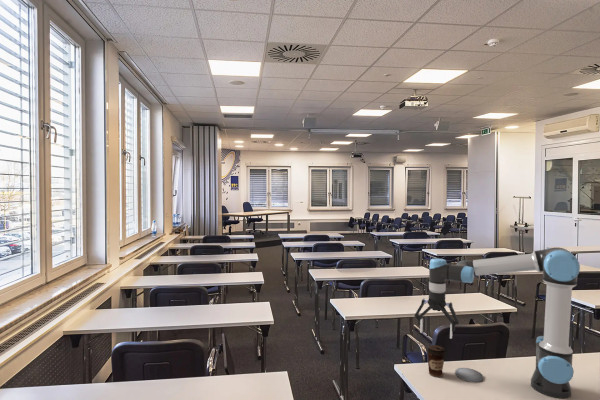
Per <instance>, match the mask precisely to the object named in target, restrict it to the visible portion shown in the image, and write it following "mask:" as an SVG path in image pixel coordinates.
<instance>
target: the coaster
mask: <svg viewBox="0 0 600 400" xmlns="http://www.w3.org/2000/svg"><path fill="white" fill-rule="evenodd" d="M454 372H455V373H454V374H455V376H456V377H457V378H459V379H460V380H462V381H466V382H470V383H480V382H482V381H483V380H484V376H483V374H482V373H481V372H480V371H478V370H476V369H472V368H469V367H458V368H457V369H455V371H454Z"/></svg>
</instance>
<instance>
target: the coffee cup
mask: <svg viewBox="0 0 600 400" xmlns="http://www.w3.org/2000/svg"><path fill="white" fill-rule="evenodd" d="M426 351H427V363H428V364H427V366H428V374H429V375H430V376H432V377H434V378H440V377H442V376H443V375H444V374H443V372H444V371H443V369H444V364H445V363H444V362H445V354H446V350H445V349H444V347H443V346H440V345H437V344H436V345H435V344H433V345H429V346H428V348H427V349H426Z"/></svg>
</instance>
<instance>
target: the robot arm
mask: <svg viewBox="0 0 600 400" xmlns="http://www.w3.org/2000/svg"><path fill="white" fill-rule="evenodd" d="M428 269H429V271H428V273H429V276H428V277H429V279H428V280H429V281H428V289H429V291H428V299H425V298H422V299H421V303H420V305H419V307H418V308H417V310H416V312H415V313H414V317H415V318H417V325H418V326H419V333H421V334H422V333H423V331H424V318H423V317H424V316H425V315H426V314H428V312H429V311H431V310H432V311H437V312H442V313H443V314H444V316H445V317H446V318H447V320H448V321H449V322H450V325H449V328H450V329H449V339H453V332H455V331H456V325H459V324H460V320H459V318H458V316H457V313H456V311H455V308H454V306H453V302H451V301H450V302H446V286H447V285H446V284H447V282H446V281H450V282H459V283H468V284H473V282H474V279H475V276H486V275H497V274H498V275H499V274H506V273H507V274H508V273H520V272H521V273H522V272H531V271H537V272H538V273H542V281H543V282H544V283H545V284H546V290H545V309H544V310H545V311H544V324H543V325H544V326H543V327H544V329H543V335H539V336H537V337H536V340H535V344H536V347H535V368H534V371H533V374H532V376H531V378H530V386H531V388H533V389H534V390H535V391H537V392H538V393H541V394H543V395H546V396H549V397H552V398H556V399H567V398H570V397H572V387H571V384H570V381H571V380H572V379H573V378H574V372H575V370H574V368H573V357H574V356H573V355H574V350H573V349H572V348H571V347H570V346H569V345H570V327H571V326H570V323H571V311H572V310H571V308H572V295H573V294H572V293H573V292H572V291H573V288H575V287H576V286H578V275H579V273H580V271H581V265H580V262H579V259H578V258H577V256H575V255H574V254H573V253H572V252H570V251H569V250H567V249H566V248H562V247H550V248H545V249H540V250H534V251H532V253H526V254H524V253H523V254H517V255H507V256H499V257H491V258H481V259H473V260H460V261H458V262H457V263H456V264H451V263H450V264H449V263H447V260H446V259H443V258H432V259H430V261H429V268H428ZM426 304H428V307H427V308H426V309H425V310H424V311H422V312H421V310H422V309H423V307H424V305H426ZM446 307H447V308H448V309H449V311H450V313H449V312H448V311H447V309H446ZM420 312H421V313H420ZM451 315H452V316H451Z"/></svg>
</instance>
